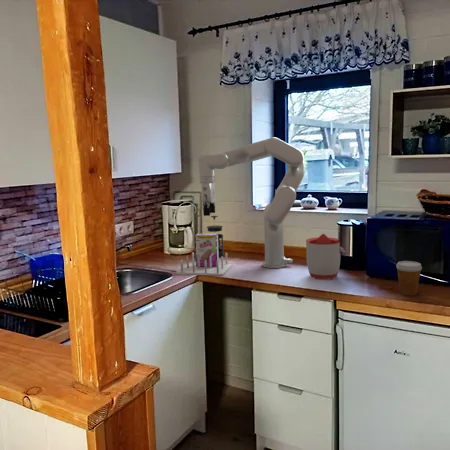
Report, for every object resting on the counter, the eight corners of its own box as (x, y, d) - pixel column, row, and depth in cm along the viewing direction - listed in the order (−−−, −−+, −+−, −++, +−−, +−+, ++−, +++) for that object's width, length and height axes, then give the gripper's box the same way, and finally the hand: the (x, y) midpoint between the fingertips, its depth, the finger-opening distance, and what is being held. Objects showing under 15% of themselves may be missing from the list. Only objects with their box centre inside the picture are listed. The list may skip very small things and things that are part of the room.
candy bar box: (195, 267, 231) (194, 235, 228) (197, 264, 236) (196, 233, 233) (217, 267, 229) (216, 235, 227) (219, 264, 234) (218, 233, 232)
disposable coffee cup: (394, 288, 188) (395, 260, 186) (419, 290, 185) (420, 261, 183) (396, 295, 179) (396, 266, 177) (422, 297, 176) (423, 267, 174)
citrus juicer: (346, 281, 200) (346, 236, 197) (306, 281, 203) (305, 237, 200) (343, 272, 216) (343, 230, 212) (305, 272, 218) (305, 230, 215)
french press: (211, 253, 265) (210, 214, 262) (227, 254, 262) (225, 214, 258) (203, 258, 255) (201, 217, 251) (219, 259, 251) (217, 217, 248)
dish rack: (232, 265, 235) (232, 252, 234) (223, 275, 217) (222, 261, 216) (188, 264, 241) (187, 251, 240) (175, 274, 223) (175, 260, 222)
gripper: (209, 181, 218) (212, 216, 220) (218, 178, 234) (221, 211, 237) (194, 181, 220) (197, 217, 222) (204, 179, 236) (207, 212, 239)
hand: (209, 214), depth 230 cm, fingers open, 9 cm apart
